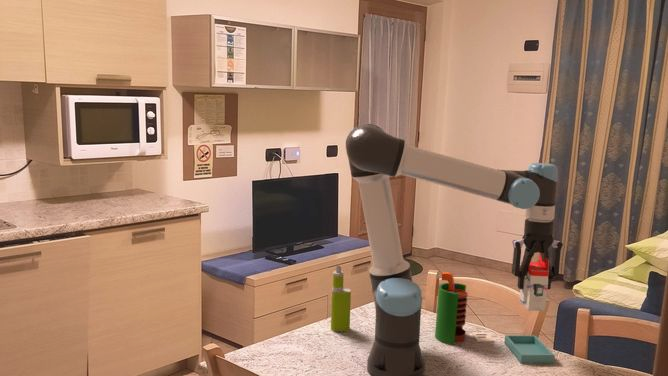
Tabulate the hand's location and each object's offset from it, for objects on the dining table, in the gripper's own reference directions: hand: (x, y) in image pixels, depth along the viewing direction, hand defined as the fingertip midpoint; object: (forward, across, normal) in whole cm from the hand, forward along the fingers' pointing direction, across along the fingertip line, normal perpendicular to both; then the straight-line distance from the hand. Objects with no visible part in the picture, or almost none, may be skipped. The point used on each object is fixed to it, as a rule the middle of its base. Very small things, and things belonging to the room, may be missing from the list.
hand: (532, 299), depth 163 cm
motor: (+16, -20, +10) cm, 28 cm away
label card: (+16, -10, +10) cm, 22 cm away
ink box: (+2, 0, 0) cm, 2 cm away
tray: (+16, 0, 0) cm, 16 cm away
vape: (+16, -53, +16) cm, 58 cm away
